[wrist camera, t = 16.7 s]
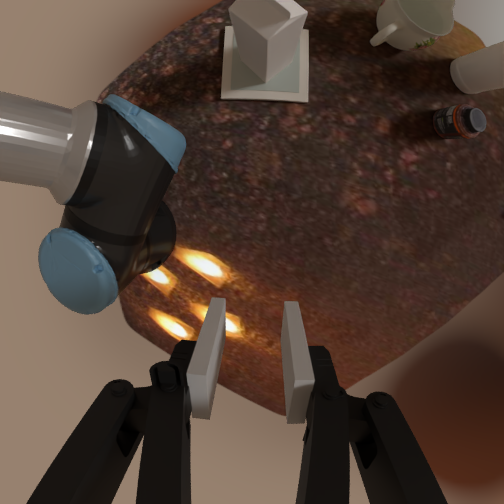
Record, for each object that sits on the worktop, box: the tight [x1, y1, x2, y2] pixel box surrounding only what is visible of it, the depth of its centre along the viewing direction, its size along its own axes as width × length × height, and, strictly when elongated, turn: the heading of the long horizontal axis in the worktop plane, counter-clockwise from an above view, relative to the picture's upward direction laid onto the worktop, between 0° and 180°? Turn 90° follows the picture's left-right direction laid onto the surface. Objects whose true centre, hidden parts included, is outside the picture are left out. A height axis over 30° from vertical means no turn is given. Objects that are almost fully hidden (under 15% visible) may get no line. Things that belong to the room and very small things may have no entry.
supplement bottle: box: [433, 104, 486, 139], centre depth 37 cm, size 6×6×11 cm
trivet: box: [221, 26, 309, 103], centre depth 41 cm, size 14×14×1 cm
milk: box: [229, 0, 308, 83], centre depth 30 cm, size 6×6×22 cm
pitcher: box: [370, 0, 455, 51], centre depth 32 cm, size 11×18×14 cm, turn 130°
